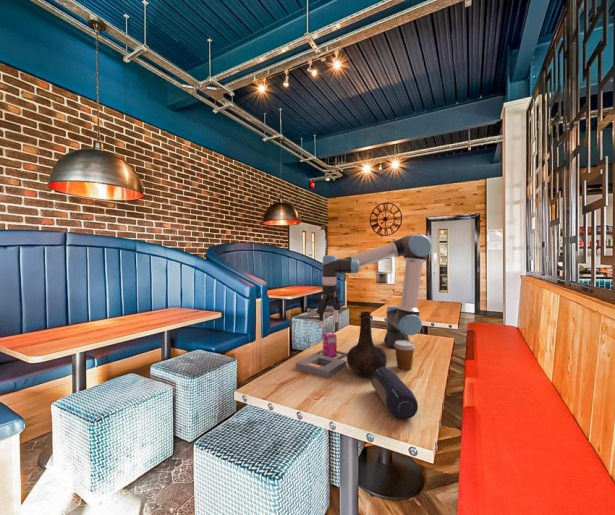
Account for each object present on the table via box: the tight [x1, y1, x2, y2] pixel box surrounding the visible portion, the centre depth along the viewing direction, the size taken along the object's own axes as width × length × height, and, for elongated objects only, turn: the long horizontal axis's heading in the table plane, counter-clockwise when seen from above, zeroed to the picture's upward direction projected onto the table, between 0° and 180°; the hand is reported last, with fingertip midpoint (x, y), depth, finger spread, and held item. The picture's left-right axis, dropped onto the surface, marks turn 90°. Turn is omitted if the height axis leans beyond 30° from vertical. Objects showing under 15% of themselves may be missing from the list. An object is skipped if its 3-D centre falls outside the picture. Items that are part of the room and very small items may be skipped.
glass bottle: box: [346, 311, 387, 378], centre depth 136 cm, size 18×18×28 cm
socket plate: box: [295, 352, 347, 379], centre depth 142 cm, size 18×16×3 cm
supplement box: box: [322, 332, 338, 358], centre depth 159 cm, size 6×6×12 cm
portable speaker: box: [370, 367, 419, 420], centre depth 108 cm, size 25×10×10 cm, turn 5°
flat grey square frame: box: [315, 349, 348, 360], centre depth 159 cm, size 15×15×1 cm
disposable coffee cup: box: [394, 340, 416, 372], centre depth 142 cm, size 10×10×12 cm
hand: (329, 324), depth 159 cm, fingers open, 13 cm apart
